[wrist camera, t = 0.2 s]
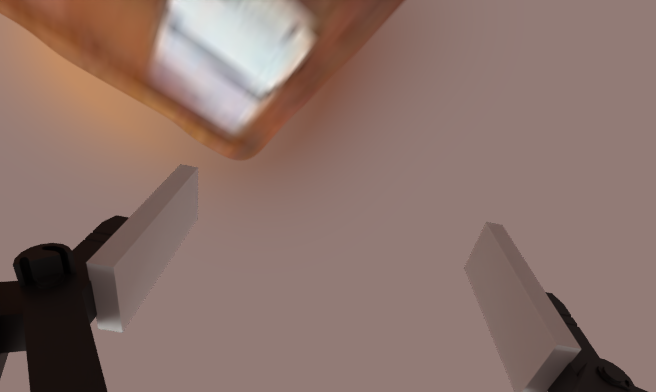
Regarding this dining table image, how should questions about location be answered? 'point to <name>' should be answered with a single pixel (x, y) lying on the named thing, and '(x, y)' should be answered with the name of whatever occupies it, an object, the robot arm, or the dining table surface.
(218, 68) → the dining table surface
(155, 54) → the dining table surface
